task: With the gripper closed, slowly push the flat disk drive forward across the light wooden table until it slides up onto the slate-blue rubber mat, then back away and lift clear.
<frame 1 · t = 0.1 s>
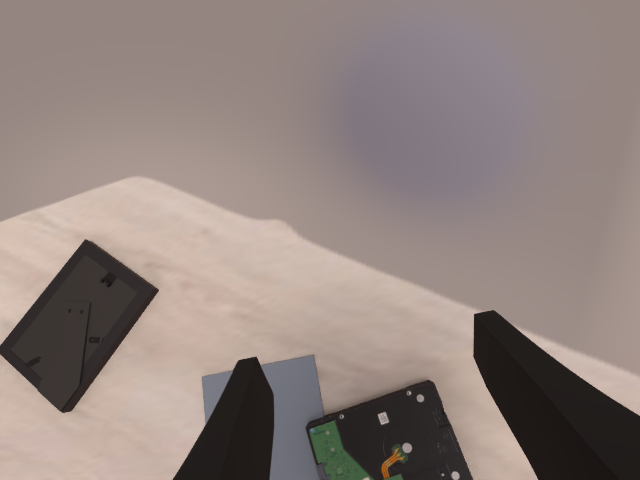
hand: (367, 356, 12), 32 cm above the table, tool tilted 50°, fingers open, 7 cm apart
mat: (270, 468, 40), on the table
picture frame: (86, 320, 48), on the table
disk drive: (384, 447, 39), on the table, touching mat
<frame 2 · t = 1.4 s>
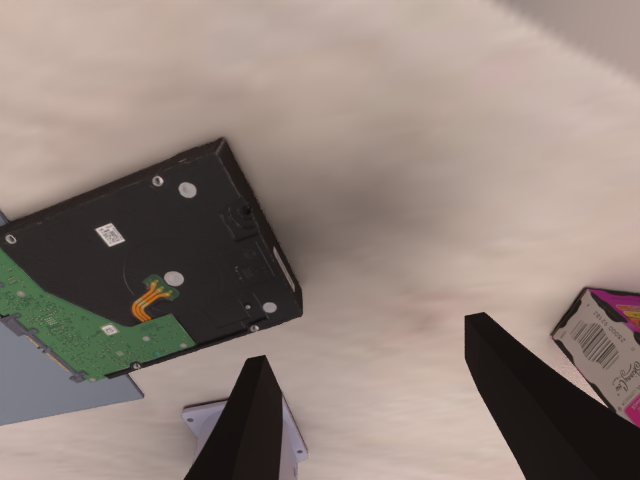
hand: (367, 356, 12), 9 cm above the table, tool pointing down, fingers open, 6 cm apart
disk drive: (153, 261, 21), on the table, touching mat
candy bar box: (630, 318, 25), on the table
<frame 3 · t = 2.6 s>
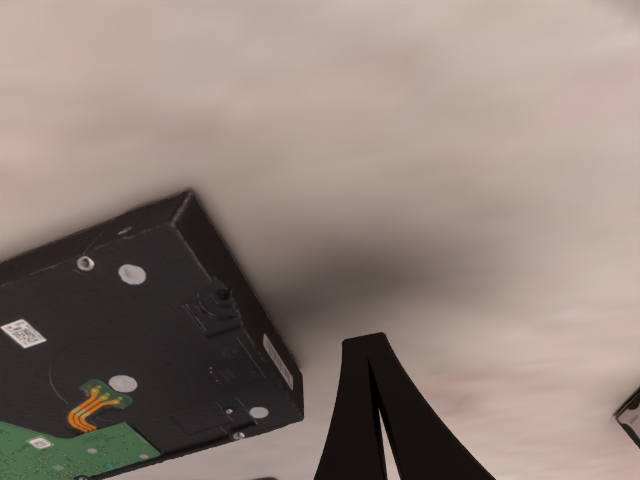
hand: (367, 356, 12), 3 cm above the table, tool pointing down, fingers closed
disk drive: (104, 343, 15), on the table, touching mat
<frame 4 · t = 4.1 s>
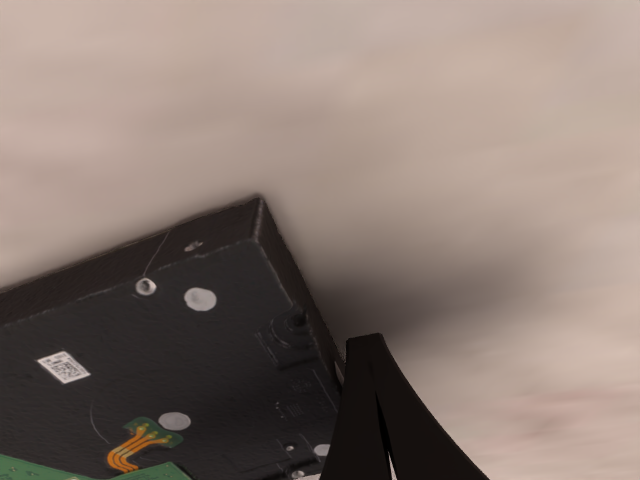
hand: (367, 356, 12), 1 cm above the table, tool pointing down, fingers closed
disk drive: (143, 367, 14), on the table, touching gripper, mat
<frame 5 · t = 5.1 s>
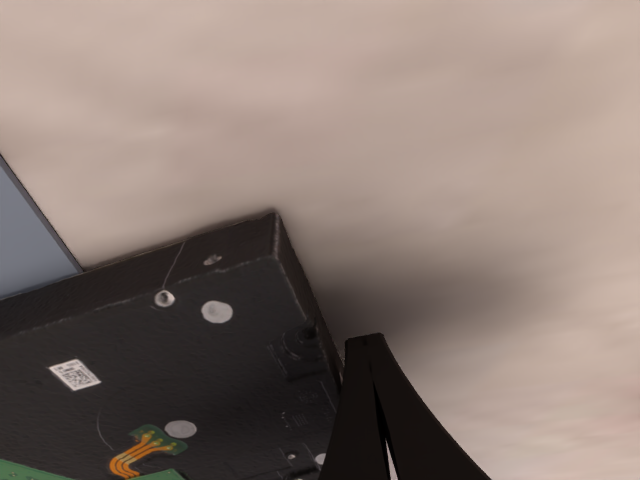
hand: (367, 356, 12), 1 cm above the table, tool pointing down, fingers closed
disk drive: (146, 373, 14), on the table, touching gripper, mat
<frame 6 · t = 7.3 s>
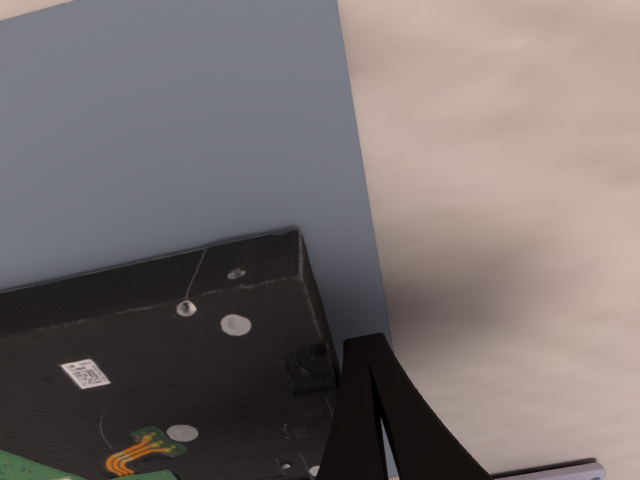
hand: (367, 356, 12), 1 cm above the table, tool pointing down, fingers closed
mat: (203, 356, 13), on the table
disk drive: (147, 371, 14), resting on mat, touching gripper
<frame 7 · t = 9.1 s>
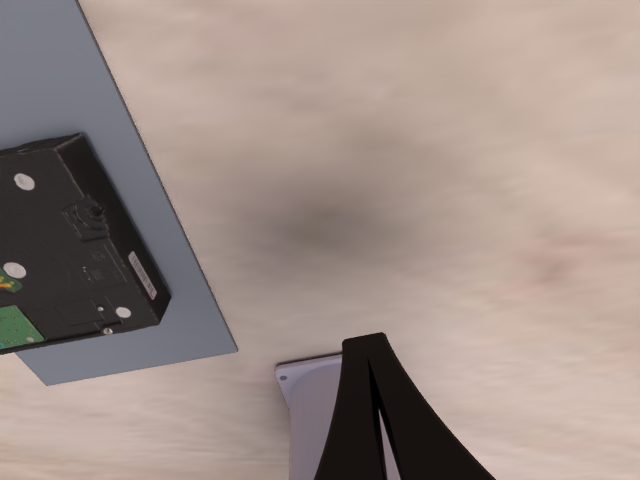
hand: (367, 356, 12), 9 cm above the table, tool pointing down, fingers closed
mat: (50, 235, 19), on the table
disk drive: (11, 247, 19), resting on mat
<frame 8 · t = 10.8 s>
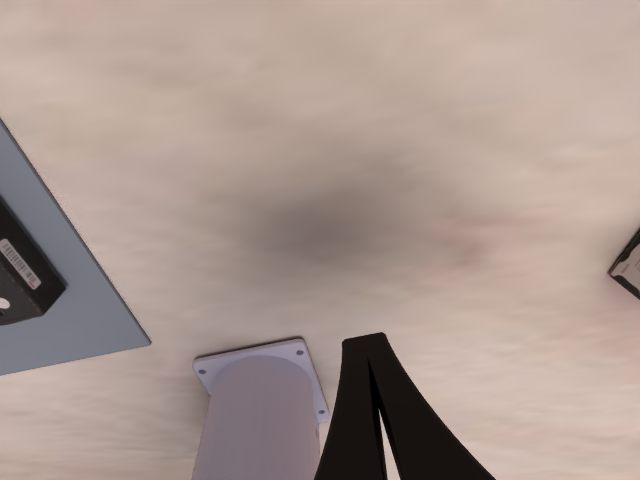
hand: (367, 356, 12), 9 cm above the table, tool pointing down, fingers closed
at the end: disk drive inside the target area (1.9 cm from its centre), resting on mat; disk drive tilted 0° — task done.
